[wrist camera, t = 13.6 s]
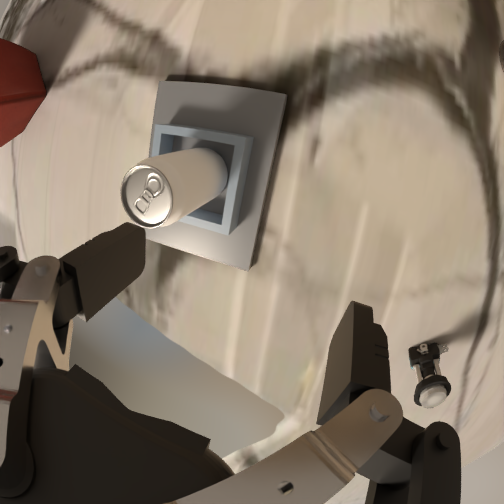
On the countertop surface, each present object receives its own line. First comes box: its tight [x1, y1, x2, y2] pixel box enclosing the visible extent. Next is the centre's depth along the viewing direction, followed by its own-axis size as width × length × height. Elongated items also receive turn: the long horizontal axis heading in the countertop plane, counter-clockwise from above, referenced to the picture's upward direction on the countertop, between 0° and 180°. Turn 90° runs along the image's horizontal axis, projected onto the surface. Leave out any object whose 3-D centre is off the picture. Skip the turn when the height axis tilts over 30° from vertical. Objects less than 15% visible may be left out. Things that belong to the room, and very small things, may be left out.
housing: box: [144, 81, 288, 271], centre depth 33 cm, size 22×16×4 cm
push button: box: [409, 343, 451, 408], centre depth 31 cm, size 7×5×10 cm
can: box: [121, 148, 228, 228], centre depth 28 cm, size 6×6×12 cm
